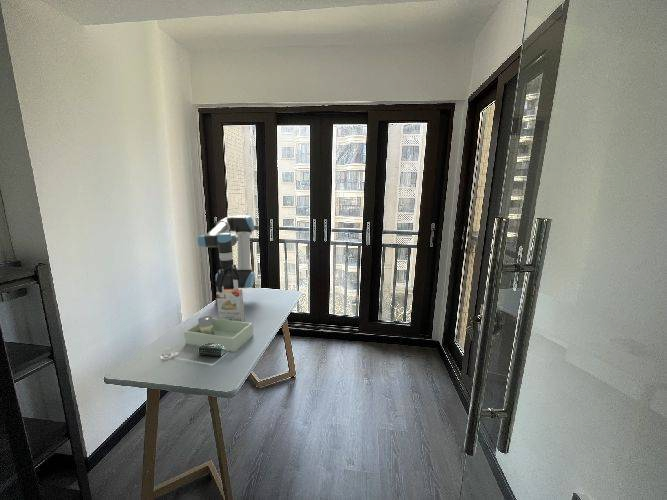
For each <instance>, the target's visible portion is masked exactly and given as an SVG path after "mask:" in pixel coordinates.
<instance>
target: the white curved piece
mask: <svg viewBox="0 0 667 500" xmlns="http://www.w3.org/2000/svg"><path fill="white" fill-rule="evenodd" d="M164 352H165V354H161V355H160V359H161V360H165V361H166V360H170V359H173V358H175V357H178V356H179V354H180V353H179V352H177V351H175V352H173V346H167V347H165V348H164ZM165 355H166V358H165V357H164V356H165Z"/></svg>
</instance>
